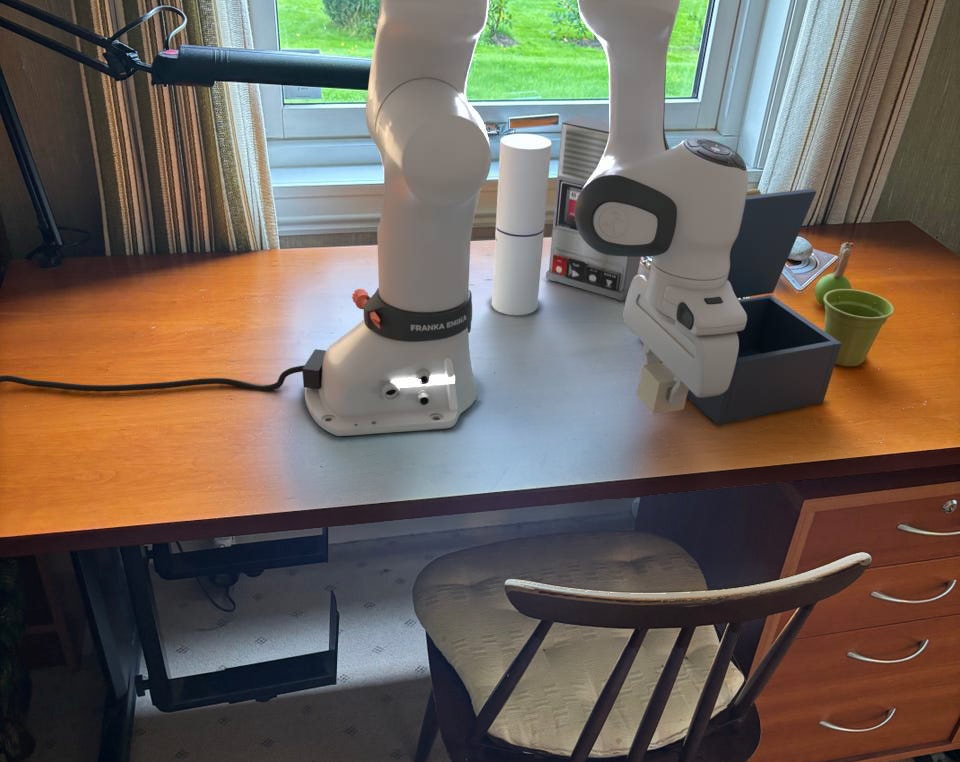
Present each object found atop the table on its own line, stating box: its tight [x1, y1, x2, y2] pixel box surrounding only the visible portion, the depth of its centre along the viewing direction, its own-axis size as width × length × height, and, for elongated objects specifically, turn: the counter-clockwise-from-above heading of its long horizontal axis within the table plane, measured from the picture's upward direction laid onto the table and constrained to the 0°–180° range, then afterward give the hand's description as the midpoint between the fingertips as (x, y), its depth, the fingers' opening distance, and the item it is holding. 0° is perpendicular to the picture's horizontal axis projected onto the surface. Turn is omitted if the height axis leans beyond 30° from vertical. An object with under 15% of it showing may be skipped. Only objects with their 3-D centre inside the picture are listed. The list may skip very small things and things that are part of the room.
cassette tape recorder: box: [545, 114, 642, 302], centre depth 142 cm, size 14×6×25 cm, turn 58°
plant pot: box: [823, 288, 895, 367], centre depth 130 cm, size 9×9×9 cm
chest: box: [660, 294, 842, 425], centre depth 123 cm, size 15×17×9 cm
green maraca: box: [814, 241, 855, 308], centre depth 143 cm, size 5×6×12 cm
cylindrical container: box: [491, 133, 552, 316], centre depth 135 cm, size 7×7×25 cm
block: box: [636, 363, 688, 414], centre depth 114 cm, size 4×4×4 cm
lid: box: [727, 188, 817, 299], centre depth 120 cm, size 16×17×5 cm
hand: (662, 390), depth 114 cm, fingers closed on block, 4 cm apart
